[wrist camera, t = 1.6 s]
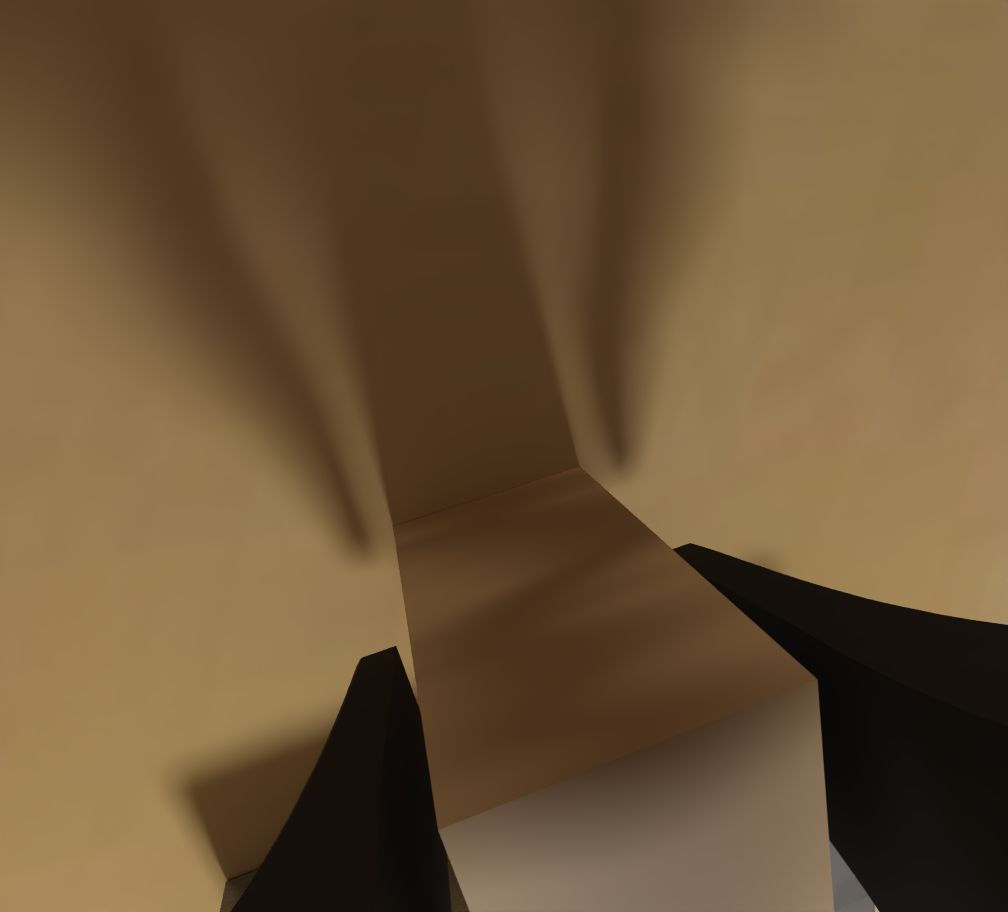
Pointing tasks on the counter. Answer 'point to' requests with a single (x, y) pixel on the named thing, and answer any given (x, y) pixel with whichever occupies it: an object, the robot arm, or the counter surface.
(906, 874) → the robot arm
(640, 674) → the oak peg
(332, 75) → the counter surface
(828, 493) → the counter surface
